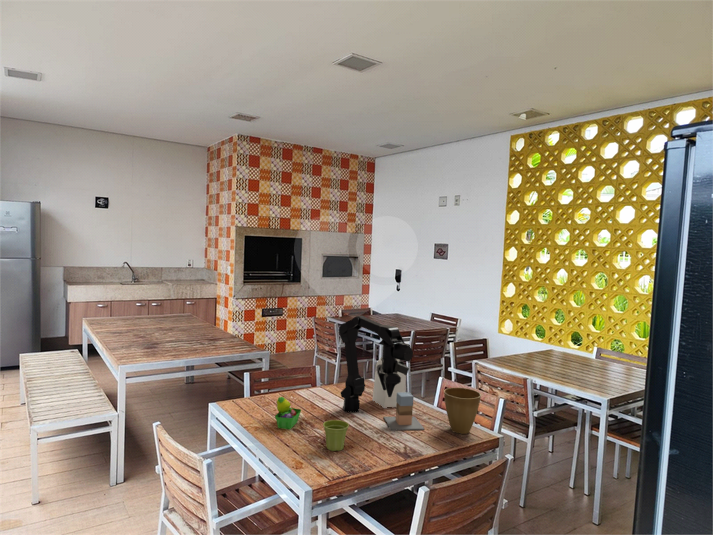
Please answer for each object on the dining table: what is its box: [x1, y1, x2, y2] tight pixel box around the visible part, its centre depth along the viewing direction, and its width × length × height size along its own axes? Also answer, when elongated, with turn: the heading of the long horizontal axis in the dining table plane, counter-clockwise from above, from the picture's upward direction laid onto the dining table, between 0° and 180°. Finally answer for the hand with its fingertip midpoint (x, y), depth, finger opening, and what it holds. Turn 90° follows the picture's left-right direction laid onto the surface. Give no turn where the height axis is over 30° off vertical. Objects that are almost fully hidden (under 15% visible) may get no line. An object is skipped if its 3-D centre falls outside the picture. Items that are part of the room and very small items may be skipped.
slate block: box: [396, 391, 415, 407], centre depth 200 cm, size 6×6×4 cm
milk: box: [372, 357, 407, 409], centre depth 226 cm, size 12×12×26 cm
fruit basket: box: [274, 396, 302, 430], centre depth 192 cm, size 11×9×11 cm
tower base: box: [383, 410, 425, 431], centre depth 200 cm, size 14×14×5 cm
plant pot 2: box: [443, 387, 482, 435], centre depth 196 cm, size 15×15×16 cm
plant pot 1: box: [322, 419, 350, 452], centre depth 172 cm, size 9×9×9 cm
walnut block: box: [395, 403, 414, 416], centre depth 200 cm, size 6×6×4 cm
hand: (387, 393), depth 199 cm, fingers open, 9 cm apart
